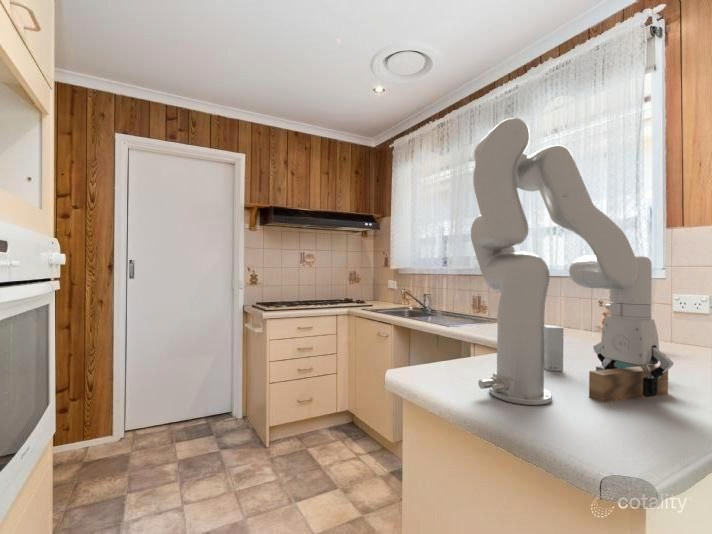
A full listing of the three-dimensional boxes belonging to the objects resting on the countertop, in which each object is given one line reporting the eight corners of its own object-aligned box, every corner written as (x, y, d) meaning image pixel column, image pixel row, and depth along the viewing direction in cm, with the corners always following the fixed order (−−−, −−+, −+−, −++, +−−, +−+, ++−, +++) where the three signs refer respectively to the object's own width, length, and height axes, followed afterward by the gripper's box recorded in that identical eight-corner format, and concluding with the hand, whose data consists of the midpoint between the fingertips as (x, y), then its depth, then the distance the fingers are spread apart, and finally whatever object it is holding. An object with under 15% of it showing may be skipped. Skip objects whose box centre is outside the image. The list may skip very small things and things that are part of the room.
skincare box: (563, 371, 101) (564, 328, 101) (547, 370, 102) (547, 327, 102) (555, 366, 107) (555, 325, 107) (539, 365, 108) (540, 324, 108)
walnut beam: (602, 403, 77) (603, 375, 78) (589, 398, 81) (589, 371, 81) (667, 394, 84) (668, 368, 84) (652, 390, 87) (652, 364, 87)
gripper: (582, 307, 89) (581, 380, 89) (661, 316, 73) (661, 405, 73) (604, 307, 92) (604, 377, 92) (686, 315, 75) (686, 401, 75)
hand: (629, 389), depth 82 cm, fingers open, 7 cm apart
